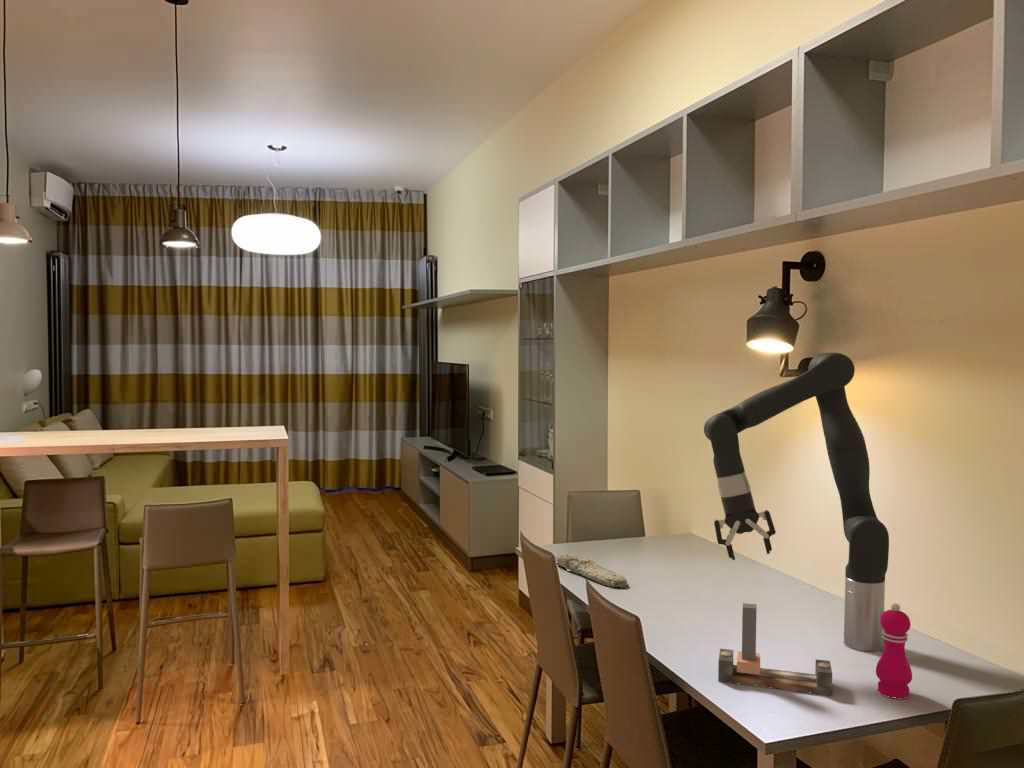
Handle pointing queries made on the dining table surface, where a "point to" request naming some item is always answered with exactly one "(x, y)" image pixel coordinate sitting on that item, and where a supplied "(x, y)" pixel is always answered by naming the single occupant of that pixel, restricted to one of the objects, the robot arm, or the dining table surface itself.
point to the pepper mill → (894, 654)
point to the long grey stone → (591, 570)
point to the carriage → (748, 642)
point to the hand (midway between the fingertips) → (751, 556)
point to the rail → (778, 676)
